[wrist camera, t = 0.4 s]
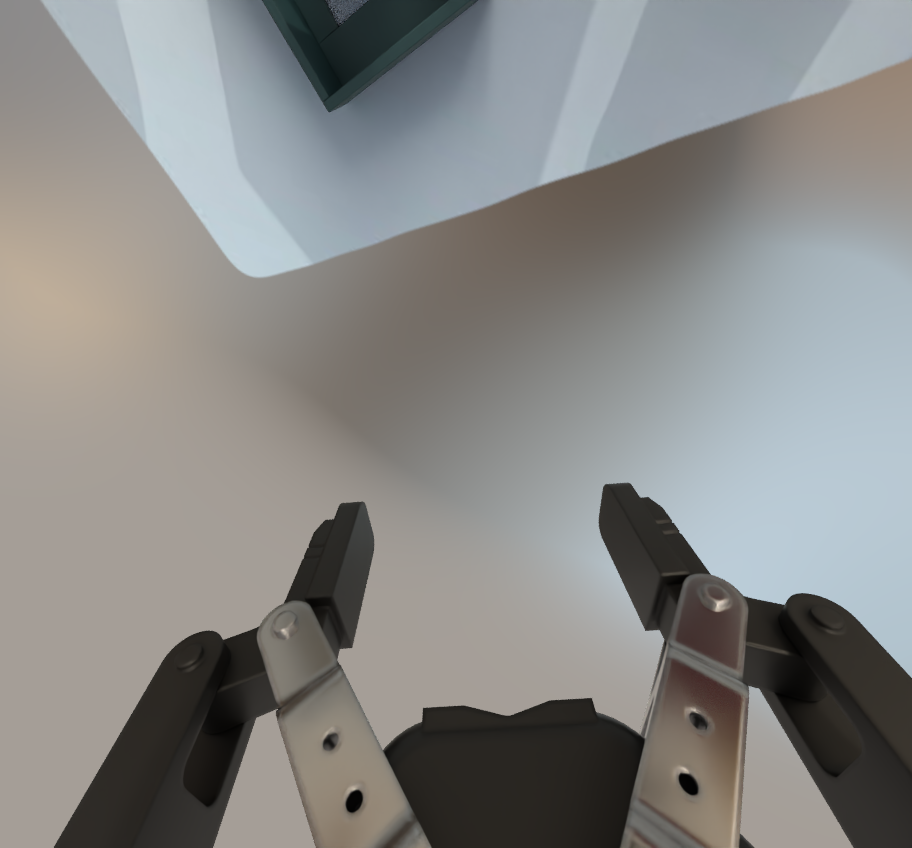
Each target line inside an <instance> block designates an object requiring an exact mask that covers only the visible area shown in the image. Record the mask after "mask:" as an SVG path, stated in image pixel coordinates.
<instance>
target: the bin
mask: <svg viewBox="0 0 912 848" xmlns="http://www.w3.org/2000/svg"><path fill="white" fill-rule="evenodd" d="M262 1H263V3H264V4H265V6H266V8H267V9H268V11H269V13H270V14H271V16H272V18H273V19H274V21H275V23H276V24H277V26H278V28H279V30H280V31H281V33H282V35H283V36H284V38H285V40H286V41H287V43H288V45H289V46H290V48H291V50H292V51H293V53H294V55H295V57H296V58H297V60H298V62H299V63H300V65H301V67H302V68H303V70H304V72H305V73H306V75H307V77H308V78H309V80H310V82H311V84H312V85H313V87H314V89H315V90H316V92H317V94H318V95H319V97H320V99H321V100H322V102H323V104H324V105H325V107H326V109H327V111H328V112H331V111H333V110H335V109H337V108H339V107H341V106H343V105H345V104H346V103H348V102H349V101H350V100H352V99H353V98H354V97H355V96H357V95H358V94H359V93H360V92H362V91H363V90H364V89H366V88H367V87H368V86H369V85H371V84H372V83H373V82H375V81H376V80H377V79H378V78H380V77H381V76H382V75H383V74H385V73H386V72H387V71H389V70H390V69H391V68H392V67H394V66H395V65H396V64H398V63H399V62H400V61H401V60H403V59H404V58H405V57H406V56H408V55H409V54H410V53H412V52H413V51H414V50H415V49H417V48H418V47H419V46H420V45H422V44H423V43H424V42H426V41H427V40H428V39H429V38H431V37H432V36H433V35H435V34H436V33H437V32H438V31H440V30H441V29H442V28H443V27H445V26H446V25H447V24H449V23H450V22H451V21H452V20H454V19H455V18H456V17H458V16H459V15H460V14H461V13H463V12H464V11H465V10H466V9H468V8H469V7H470V6H472V5H473V4H474V3H475V2H477V1H478V0H369V1H367V2H366V3H365V4H364V5H363V6H362V7H361V8H359V9H358V10H357V11H356V12H355V13H354V14H353V15H352V16H350V17H349V18H348V19H347V20H346V21H345V22H344V23H343V24H341V25H340V26H338V24H337V22H336V20H335V18H334V16H333V14H332V12H331V10H330V9H329V7H328V5H327V3H326V1H325V0H262Z"/></svg>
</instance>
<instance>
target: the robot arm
mask: <svg viewBox="0 0 912 848" xmlns="http://www.w3.org/2000/svg"><path fill="white" fill-rule="evenodd" d="M599 529H600V533H601V536H602V539H603V541H604V543H605V545H606V547H607V549H608V551H609V554H610V556H611V558H612V560H613V562H614V564H615V566H616V568H617V571H618V573H619V575H620V577H621V579H622V581H623V583H624V586H625V588H626V590H627V592H628V594H629V596H630V598H631V601H632V603H633V605H634V607H635V609H636V611H637V613H638V616H639V618H640V620H641V622H642V624H643V626H644V628H645V631H649V630H660V631H661V634H662V636H663V638H664V643H663V647H662V650H661V654H660V658H659V662H658V666H657V670H656V673H655V677H654V681H653V685H652V689H651V693H650V697H649V700H648V704H647V708H646V711H645V715H644V718H643V722H642V725H641V728H640V732H639V734H638V733H637V732H636V731H634V730H633V729H631V728H630V727H628V726H627V725H625V724H624V723H621V722H620V721H618V720H616V719H614V718H611V717H609V716H606V715H604V714H601V713H597V712H596V711H595V708H594V704H593V701H592V698H585V699H570V700H569V699H568V700H551V701H547V702H545V703H542V704H540V705H537V706H535V707H532V708H529V709H527V710H524V711H522V712H519V713H516V714H514V715H511V716H504V715H500V714H496V713H492V712H488V711H484V710H480V709H476V708H472V707H468V706H449V707H432V708H423V718H422V719H423V720H422V722H421V723H418V724H415V725H414V726H412V727H410V728H408V729H406V730H405V731H404V732H402V733H401V734H399V735H398V736H397V737H396V738H395V739H394V740H393V741H391V742H390V743H389V744H388V745H387V746H386V747H385V749H384V750H382V748H381V746H380V744H379V742H378V740H377V738H376V736H375V734H374V732H373V730H372V728H371V726H370V724H369V722H368V720H367V718H366V716H365V713H364V712H363V710H362V707H361V705H360V703H359V702H358V699H357V697H356V695H355V693H354V691H353V689H352V687H351V685H350V683H349V681H348V679H347V678H346V675H345V673H344V671H343V669H342V667H341V665H339V663H338V661H337V658H338V654H339V650H340V649H343V648H352V646H353V641H354V637H355V633H356V629H357V624H358V619H359V615H360V611H361V606H362V601H363V597H364V592H365V588H366V584H367V579H368V575H369V570H370V566H371V561H372V557H373V551H374V536H373V531H372V527H371V523H370V520H369V516H368V512H367V508H366V505H365V503H364V502H353V503H341V504H340V506H339V508H338V510H337V513H336V516H335V518H334V519H332V520H325V521H324V522H323V523H322V524H321V525H320V527H319V528H318V529H317V530H316V531H315V532H314V534H313V536H312V539H311V541H310V543H309V548H307V551H306V553H305V555H304V559H303V560H302V562H301V565H300V567H299V569H298V572H297V574H296V576H295V579H294V581H293V583H292V586H291V589H290V591H289V593H288V596H287V598H286V600H285V602H284V604H282V605H280V606H278V607H277V608H275V609H274V610H272V611H271V612H270V613H269V614H268V615H267V616H266V617H265V618H264V620H263V621H262V623H261V625H260V626H259V627H257V628H255V629H252V630H250V631H247V632H244V633H242V634H239V635H236V636H233V637H230V638H228V639H225V640H223V639H222V637H221V636H220V635H219V634H218V633H217V632H214V631H202V632H199V633H196V634H193V635H191V636H189V637H187V638H186V639H184V640H183V641H181V642H180V643H179V644H177V645H176V646H175V647H174V648H173V649H172V650H171V651H170V652H169V653H168V655H167V656H166V657H165V659H164V660H163V662H162V663H161V665H160V667H159V668H158V670H157V672H156V673H155V675H154V677H153V679H152V680H151V682H150V684H149V685H148V687H147V689H146V691H145V692H144V694H143V696H142V697H141V699H140V701H139V703H138V704H137V706H136V708H135V710H134V711H133V713H132V714H131V716H130V718H129V720H128V721H127V723H126V725H125V726H124V728H123V730H122V732H121V733H120V735H119V737H118V738H117V740H116V742H115V744H114V745H113V747H112V749H111V750H110V752H109V754H108V756H107V757H106V759H105V761H104V763H103V764H102V766H101V767H100V769H99V771H98V773H97V774H96V776H95V778H94V780H93V781H92V783H91V785H90V786H89V788H88V790H87V792H86V793H85V795H84V797H83V799H82V800H81V802H80V804H79V805H78V807H77V809H76V810H75V812H74V814H73V815H72V817H71V819H70V821H69V822H68V824H67V826H66V827H65V829H64V831H63V832H62V834H61V836H60V838H59V839H58V841H57V843H56V845H55V846H54V848H213V846H214V843H215V840H216V837H217V834H218V831H219V827H220V824H221V822H222V819H223V816H224V813H225V810H226V807H227V804H228V801H229V798H230V794H231V792H232V788H233V785H234V783H235V780H236V776H237V774H238V771H239V767H240V764H241V762H242V758H243V755H244V753H245V749H246V747H247V744H248V741H249V738H250V734H251V732H252V729H253V726H254V723H255V720H256V718H257V717H259V716H261V715H264V714H266V713H268V712H271V711H273V710H275V709H278V710H277V711H276V716H277V721H278V724H279V728H280V731H281V734H282V738H283V741H284V744H285V747H286V751H287V754H288V757H289V761H290V764H291V767H292V771H293V774H294V777H295V780H296V784H297V787H298V790H299V793H300V797H301V800H302V803H303V807H304V810H305V813H306V817H307V820H308V823H309V826H310V830H311V833H312V836H313V839H314V843H315V846H316V848H754V847H753V846H752V845H751V844H750V843H749V842H748V841H747V840H746V839H745V838H744V837H743V836H742V835H741V834H740V823H741V809H742V793H743V779H744V778H743V777H744V763H745V749H746V734H747V719H748V703H749V687H748V686H752V687H755V688H759V689H760V690H761V692H762V694H763V695H764V697H765V699H766V701H767V702H768V704H769V705H770V707H771V709H772V711H773V712H774V714H775V716H776V717H777V719H778V721H779V723H780V724H781V726H782V728H783V729H784V731H785V733H786V734H787V736H788V738H789V739H790V741H791V743H792V744H793V746H794V748H795V749H796V751H797V753H798V755H799V756H800V758H801V760H802V761H803V763H804V765H805V766H806V768H807V770H808V771H809V773H810V775H811V776H812V778H813V780H814V782H815V783H816V785H817V787H818V788H819V790H820V792H821V793H822V795H823V797H824V798H825V800H826V802H827V804H828V805H829V807H830V809H831V810H832V812H833V814H834V815H835V817H836V819H837V820H838V822H839V824H840V825H841V827H842V829H843V831H844V832H845V834H846V836H847V837H848V839H849V841H850V842H851V844H852V845H853V847H854V848H912V678H911V677H910V676H909V675H908V674H907V673H906V672H905V670H904V669H903V668H902V667H901V666H900V665H899V664H898V663H897V662H896V661H895V660H894V659H893V658H892V657H891V655H890V654H889V653H887V651H886V650H885V649H884V648H883V647H882V646H881V645H880V644H879V643H878V641H877V640H876V639H875V638H874V637H873V636H872V635H871V634H870V633H869V632H868V631H867V630H866V629H865V627H864V626H863V625H862V624H861V623H860V622H859V621H858V620H857V619H856V618H855V617H854V616H853V615H852V614H851V613H849V612H848V611H847V610H845V609H844V608H843V607H841V606H839V605H838V604H836V603H834V602H832V601H830V600H828V599H826V598H823V597H820V596H817V595H812V594H805V593H801V594H795V595H792V596H791V597H790V598H789V599H788V600H787V602H786V604H785V605H782V604H777V603H772V602H767V601H761V600H757V599H752V598H748V597H745V596H743V595H742V594H741V593H740V592H739V591H738V590H737V589H736V588H735V587H734V586H733V585H731V584H730V583H728V582H726V581H725V580H723V579H721V578H719V577H716V576H713V575H711V574H710V573H709V571H708V570H707V569H706V567H705V566H704V565H703V563H702V562H701V560H700V559H699V558H698V556H697V555H696V554H695V552H694V551H693V549H692V548H691V546H690V545H689V544H688V542H687V541H686V540H685V538H684V537H683V535H682V534H680V533H679V530H678V528H677V527H676V526H675V525H674V523H672V520H671V519H670V517H669V516H668V515H667V514H666V512H665V510H664V509H663V508H662V507H661V506H660V505H658V504H657V503H655V502H654V501H653V500H651V499H650V498H649V497H645V498H640V497H639V495H638V494H637V492H636V491H635V490H634V488H633V486H632V485H631V484H630V483H617V484H606V485H605V486H604V487H603V493H602V499H601V506H600V514H599Z"/></svg>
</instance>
